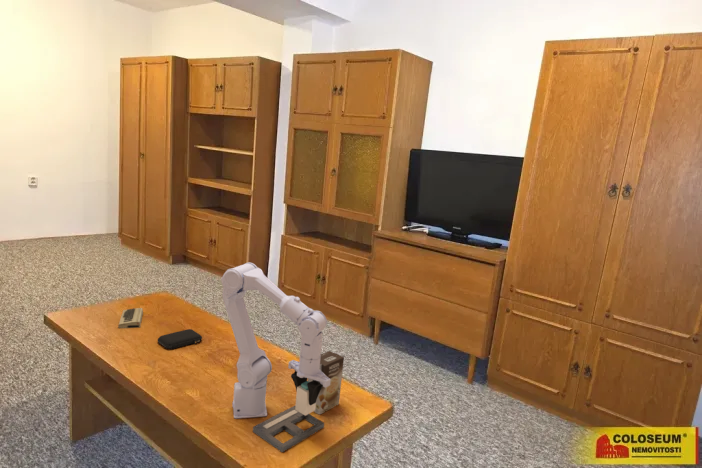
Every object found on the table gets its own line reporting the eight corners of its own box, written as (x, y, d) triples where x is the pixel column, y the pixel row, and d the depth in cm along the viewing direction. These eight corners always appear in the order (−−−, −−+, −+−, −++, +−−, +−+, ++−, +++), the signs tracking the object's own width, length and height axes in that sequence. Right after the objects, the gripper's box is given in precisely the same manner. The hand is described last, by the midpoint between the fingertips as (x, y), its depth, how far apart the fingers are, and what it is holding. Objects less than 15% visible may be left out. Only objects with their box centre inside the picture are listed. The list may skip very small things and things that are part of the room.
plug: (305, 415, 128) (307, 389, 127) (295, 409, 131) (297, 383, 129) (315, 410, 132) (317, 384, 130) (305, 404, 134) (307, 378, 132)
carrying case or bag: (168, 353, 168) (205, 343, 179) (169, 345, 168) (205, 336, 179) (155, 343, 175) (191, 334, 186) (155, 335, 175) (191, 326, 186)
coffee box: (319, 415, 139) (324, 366, 136) (304, 406, 143) (308, 358, 140) (339, 404, 146) (344, 357, 143) (324, 396, 150) (329, 349, 147)
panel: (282, 452, 121) (282, 446, 120) (252, 431, 128) (253, 426, 128) (323, 427, 133) (324, 422, 133) (294, 409, 140) (295, 404, 140)
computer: (122, 314, 198) (122, 307, 197) (143, 314, 201) (143, 306, 200) (117, 329, 184) (117, 321, 183) (140, 328, 187) (140, 320, 186)
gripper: (281, 350, 130) (278, 394, 132) (319, 369, 121) (315, 416, 123) (299, 343, 135) (296, 386, 138) (337, 361, 126) (332, 406, 129)
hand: (306, 400), depth 131 cm, fingers closed on plug, 4 cm apart
